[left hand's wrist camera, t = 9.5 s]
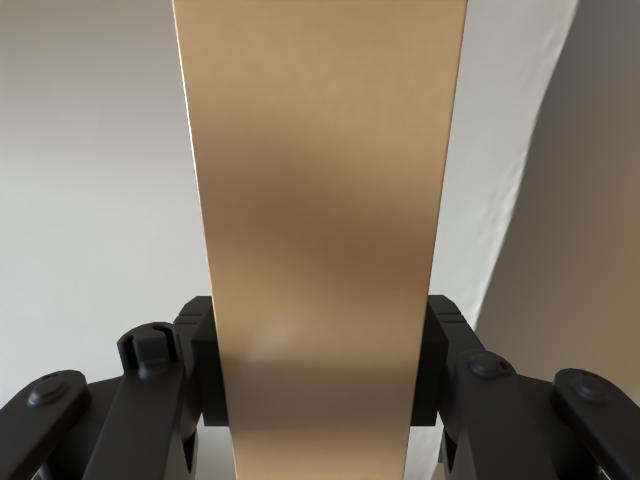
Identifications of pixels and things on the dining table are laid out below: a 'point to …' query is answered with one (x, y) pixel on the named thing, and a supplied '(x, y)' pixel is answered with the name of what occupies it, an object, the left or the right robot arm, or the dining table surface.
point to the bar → (319, 217)
